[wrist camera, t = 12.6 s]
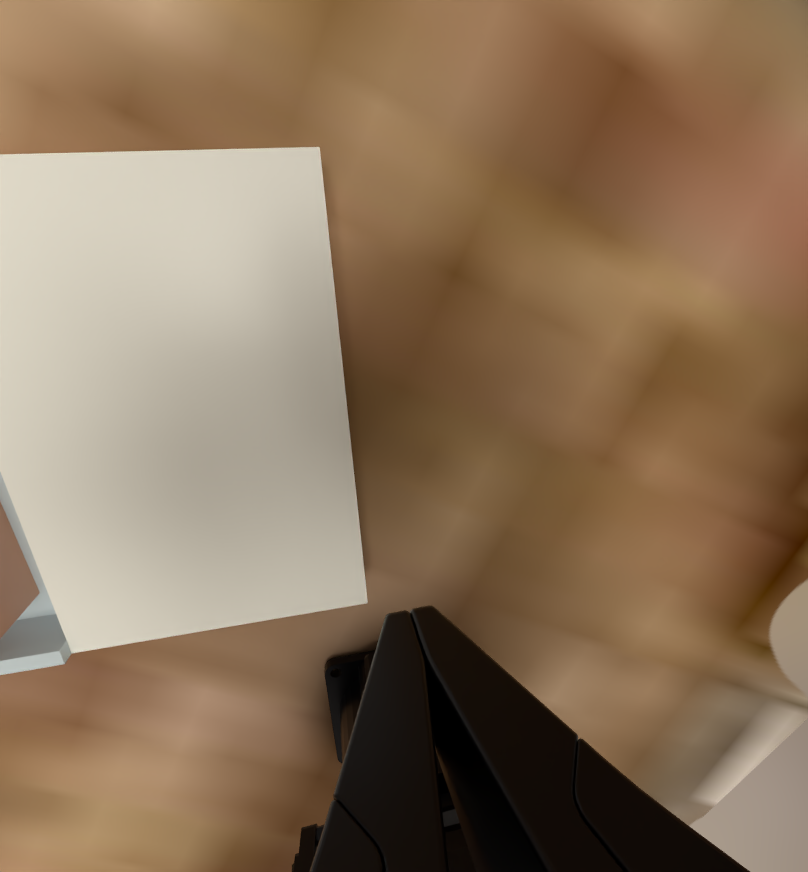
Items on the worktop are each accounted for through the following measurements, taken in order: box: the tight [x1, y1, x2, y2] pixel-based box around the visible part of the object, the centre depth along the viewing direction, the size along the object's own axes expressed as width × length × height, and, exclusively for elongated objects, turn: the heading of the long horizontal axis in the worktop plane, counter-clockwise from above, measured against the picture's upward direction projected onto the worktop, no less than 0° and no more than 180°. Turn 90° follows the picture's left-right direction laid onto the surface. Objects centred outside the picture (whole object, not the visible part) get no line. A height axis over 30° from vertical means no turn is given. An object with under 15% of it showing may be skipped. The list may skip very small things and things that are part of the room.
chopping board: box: [0, 147, 368, 653], centre depth 16 cm, size 16×11×2 cm
